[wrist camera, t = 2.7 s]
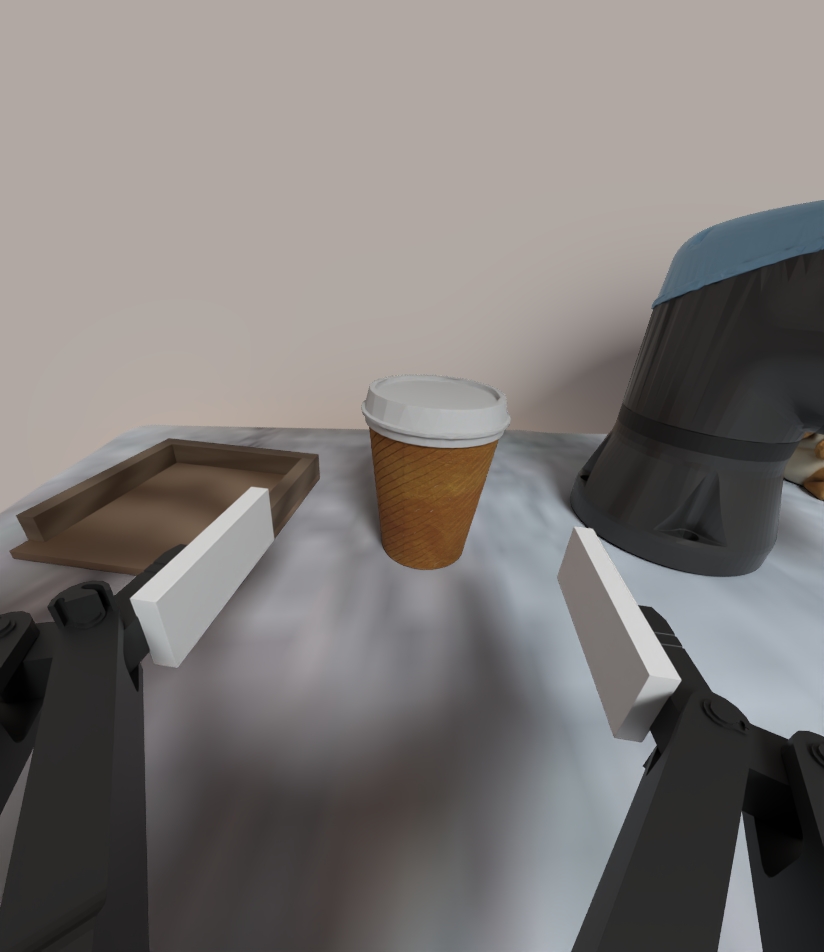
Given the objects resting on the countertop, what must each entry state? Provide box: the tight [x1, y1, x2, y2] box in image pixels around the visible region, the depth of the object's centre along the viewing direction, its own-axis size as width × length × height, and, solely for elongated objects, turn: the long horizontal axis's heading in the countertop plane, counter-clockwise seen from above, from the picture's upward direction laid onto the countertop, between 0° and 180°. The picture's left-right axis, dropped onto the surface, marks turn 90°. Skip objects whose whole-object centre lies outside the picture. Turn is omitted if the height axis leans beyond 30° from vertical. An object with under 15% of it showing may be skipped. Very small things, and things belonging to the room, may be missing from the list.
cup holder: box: [10, 438, 320, 575], centre depth 30 cm, size 15×15×3 cm
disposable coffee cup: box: [361, 375, 511, 569], centre depth 26 cm, size 10×10×12 cm
